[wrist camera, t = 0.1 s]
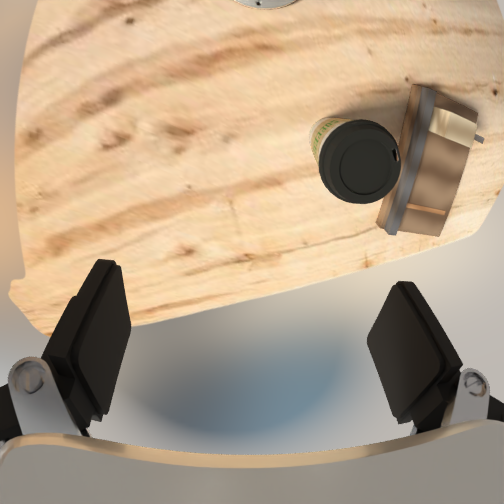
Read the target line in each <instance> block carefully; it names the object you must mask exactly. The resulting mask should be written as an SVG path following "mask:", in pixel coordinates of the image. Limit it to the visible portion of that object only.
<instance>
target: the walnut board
mask: <svg viewBox="0 0 504 504" xmlns="http://www.w3.org/2000/svg"><path fill="white" fill-rule="evenodd" d="M436 92H437V91H434V90H432V89H430V88H425V87H421V86H419V85H413V84H412V87H411V92H410V97H409V102H408V107H407V111H406V116H405V120H404V125H403V129H402V133H401V137H400V141H399V145H398V148H399V153H400V157H401V171H400V175H399V178H398V181H397V183H396V184H395V186H394V188H393V189H392V190H391V191H390V192H389V193H388V194H387V195H386V196H385V197H384V199H383V202H382V205H381V209H380V212H379V215H378V218H377V221H376V223H377V225H378V226H379V227H380V228H382V229H385V231H386V232H387V233H388V235H396V233H397V231H404V232H411V233H417V234H424V235H431V236H437V237H439V236H440V234H441V231H442V229H443V226H444V224H445V221H446V219H447V216H448V213H449V211H450V208H451V205H452V203H453V200H454V197H455V194H456V191H457V188H458V185H459V182H460V179H461V176H462V173H463V170H464V166H465V163H466V160H467V156H468V153H469V149H470V148H469V147H467V146H465V145H462V144H460V143H457V142H455V141H452V140H450V139H447V138H445V137H442V136H440V135H438V134H436V133H433V132H431V131H429V130H428V129H429V125H430V121H431V116H432V112H433V107H437V108H440V109H443V110H446V111H450V112H452V113H454V114H457V115H459V116H461V117H463V118H465V119H467V120H469V121H471V122H473V123H475V124H476V121H477V117H478V113H477V112H475V111H473V110H471V109H469V108H467V107H465V106H463V105H461V104H459V103H457V102H455V101H453V100H451V99H449V98H447V97H444V96H442V95H440V94H438V93H436ZM396 154H397V153H396ZM397 161H398V156H397Z"/></svg>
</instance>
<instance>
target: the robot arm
mask: <svg viewBox="0 0 504 504" xmlns="http://www.w3.org/2000/svg"><path fill="white" fill-rule="evenodd" d="M233 1H235V2H237V3H239V4H241V5H243V6H246V7H249V8H254V9H263V10H269V9H277V8H281V7H284V6H287V5H289V4H291V3H293V2H294V1H296V0H233ZM257 3H260V5H259V6H258V5H257ZM130 332H131V321H130V316H129V311H128V306H127V300H126V295H125V289H124V283H123V277H122V270H121V267H120V266H119V265H116V262H115V261H114V260H105V259H98V260H97V261H96V263H95V264H94V266H93V268H92V269H91V271H90V273H89V274H88V276H87V278H86V280H85V281H84V283H83V285H82V287H81V288H80V290H79V292H78V294H77V296H74V297H72V298H71V300H70V301H69V303H68V305H67V307H66V309H65V310H64V312H63V314H62V316H61V318H60V320H59V322H58V324H57V326H56V328H55V330H54V332H53V334H52V336H51V338H50V340H49V342H48V344H47V346H46V348H45V350H44V352H43V354H42V357H41V358H37V357H26V358H23V359H21V360H19V361H18V362H16V363H15V364H14V365H13V366H12V368H11V370H10V372H9V375H8V384H6V385H4V386H2V387H0V504H504V403H502V402H500V401H499V400H497V399H496V398H494V397H492V396H490V387H489V384H488V381H487V379H486V378H485V376H484V375H483V374H482V373H481V372H479V371H478V370H475V369H472V368H467V369H465V370H463V371H462V372H460V370H459V369H460V368H461V367H462V365H463V363H462V361H461V360H460V358H459V356H458V354H457V352H456V350H455V349H454V347H453V345H452V344H451V342H450V340H449V338H448V337H447V335H446V333H445V331H444V330H443V328H442V326H441V325H440V323H439V321H438V320H437V318H436V317H435V315H434V313H433V312H432V310H431V308H430V307H429V305H428V304H427V302H426V300H425V299H424V297H423V296H422V294H421V293H420V291H419V290H418V288H417V287H416V285H415V284H414V283H413V282H408V281H398V282H397V283H396V285H393V286H392V288H391V290H390V292H389V294H388V296H387V299H386V301H385V303H384V305H383V307H382V309H381V311H380V313H379V315H378V317H377V319H376V321H375V323H374V325H373V327H372V329H371V330H370V332H369V334H368V337H367V345H368V347H369V350H370V353H371V355H372V358H373V361H374V363H375V366H376V369H377V372H378V374H379V377H380V380H381V383H382V386H383V388H384V391H385V394H386V397H387V400H388V402H389V406H390V409H391V411H392V414H393V416H394V417H396V418H397V421H398V424H402V423H407V422H410V421H411V420H413V422H414V426H413V428H412V431H411V433H410V436H407V437H403V438H399V439H394V440H390V441H385V442H380V443H374V444H369V445H363V446H357V447H351V448H344V449H336V450H328V451H319V452H308V453H295V454H277V455H222V454H221V455H220V454H204V453H191V452H180V451H171V450H163V449H155V448H147V447H140V446H134V445H128V444H122V443H117V442H112V441H106V440H101V439H95V438H93V437H92V435H91V434H90V432H89V430H88V427H89V426H90V422H91V420H95V421H99V422H101V421H102V417H103V414H105V415H107V414H108V412H109V408H110V404H111V400H112V396H113V393H114V389H115V385H116V381H117V377H118V374H119V370H120V367H121V363H122V360H123V356H124V353H125V349H126V346H127V342H128V339H129V336H130Z"/></svg>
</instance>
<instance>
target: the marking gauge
mask: <svg viewBox="0 0 504 504" xmlns="http://www.w3.org/2000/svg"><path fill="white" fill-rule="evenodd" d="M476 129H477V124H475V123H473V122H471V121H469V120H467V119H465V118H463V117H461V116H459V115H457V114H454V113H452V112H450V111H446V110H443V109H440V108H437V107H433V112H432V116H431V121H430V125H429V129H428V130H429V131H431V132H433V133H436V134H438V135H440V136H442V137H445V138H447V139H450V140H452V141H455V142H457V143H460V144H462V145H465V146H467V147H469V148H472V145H473V141H474V140H476V141H478V142H480V143H482V144H483V140H484V138H483V137H481V136H479V135H477V134H475V133H476Z"/></svg>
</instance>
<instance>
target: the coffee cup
mask: <svg viewBox="0 0 504 504" xmlns="http://www.w3.org/2000/svg"><path fill="white" fill-rule="evenodd" d="M309 142H310V145H311V149H312V152H313V154H314V157H315V159H316V162H317V164H318V166H319V173H320V176H321V179H322V181H323V183H324V185H325V187H326V188H327V189H328V190H329V191H330V192H331V193H332V194H333V195H334V196H336V197H337V198H339V199H341V200H343V201H345V202H349V203H356V204H367V203H372V202H375V201H378V200H380V199H381V198H383V197H385V196H386V195H387V194H388V193H389V192H390V191H391V190H392V189H393V188H394V186H395V184H396V183H397V181H398V178H399V175H400V171H401V157H400V153H399V148H398V146H397V143H396V141H395V139H394V138H393V136H392V135H391V134H390V133H389V132H388V131H387V130H386V129H385V128H384V127H383V126H381V125H379V124H378V123H375V122H373V121H370V120H362V119H361V120H349V119H342V118H324V119H321V120H319V121H317V122H316V123H315V124H314V125H313V126H312V128H311V130H310V133H309ZM396 152H397V154H396ZM397 156H398V161H397Z"/></svg>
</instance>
